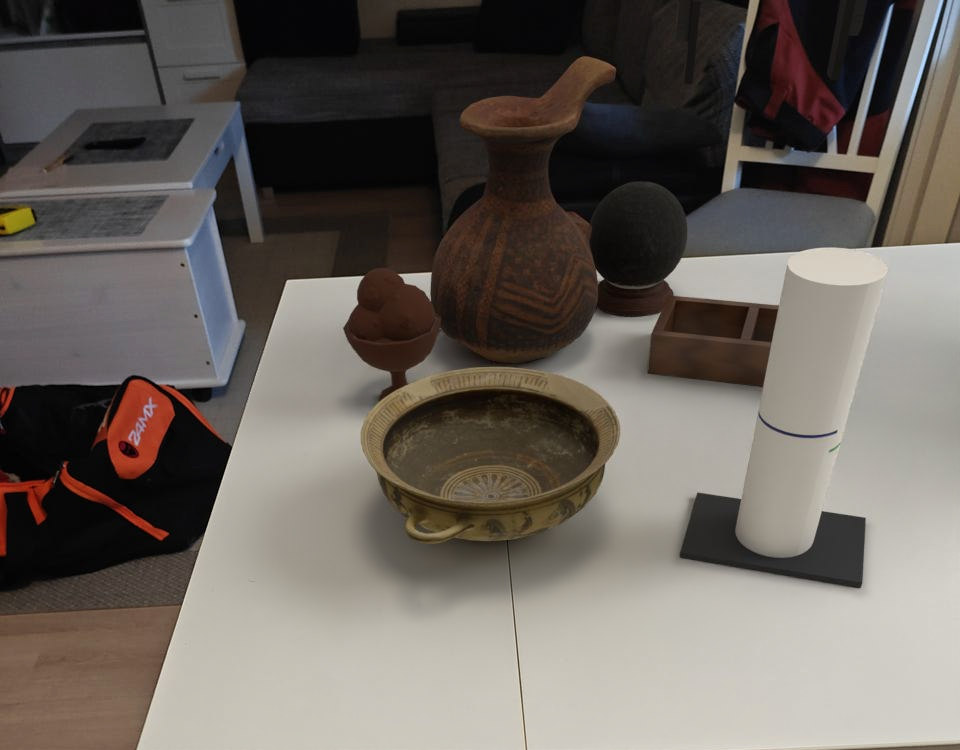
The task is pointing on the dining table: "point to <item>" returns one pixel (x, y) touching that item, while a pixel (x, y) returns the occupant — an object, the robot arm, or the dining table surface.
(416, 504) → the ceramic bowl
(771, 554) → the cylindrical container
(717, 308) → the wooden compartment box
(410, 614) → the dining table surface
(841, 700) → the dining table surface
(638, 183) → the black ball on stand
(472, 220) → the jug
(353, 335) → the ice cream bowl
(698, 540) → the mat
